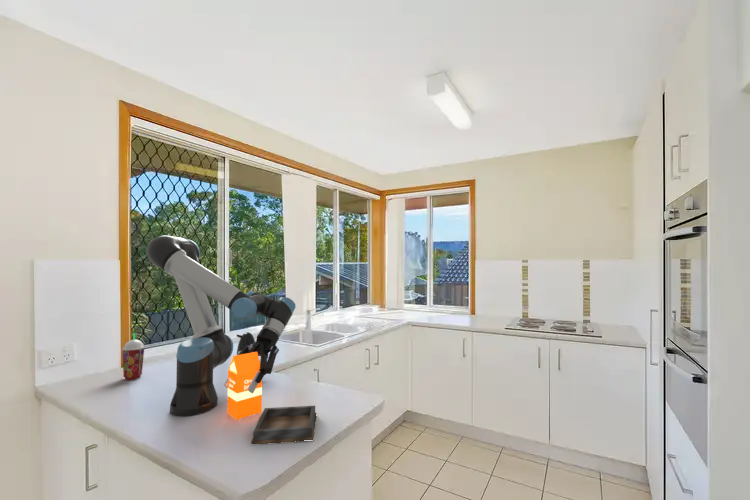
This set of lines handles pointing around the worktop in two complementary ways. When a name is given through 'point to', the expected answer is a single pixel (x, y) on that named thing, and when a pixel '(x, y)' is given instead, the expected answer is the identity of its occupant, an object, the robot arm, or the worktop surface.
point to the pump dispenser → (245, 340)
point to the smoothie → (133, 359)
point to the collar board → (285, 425)
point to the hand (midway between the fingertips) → (238, 389)
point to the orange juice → (243, 386)
